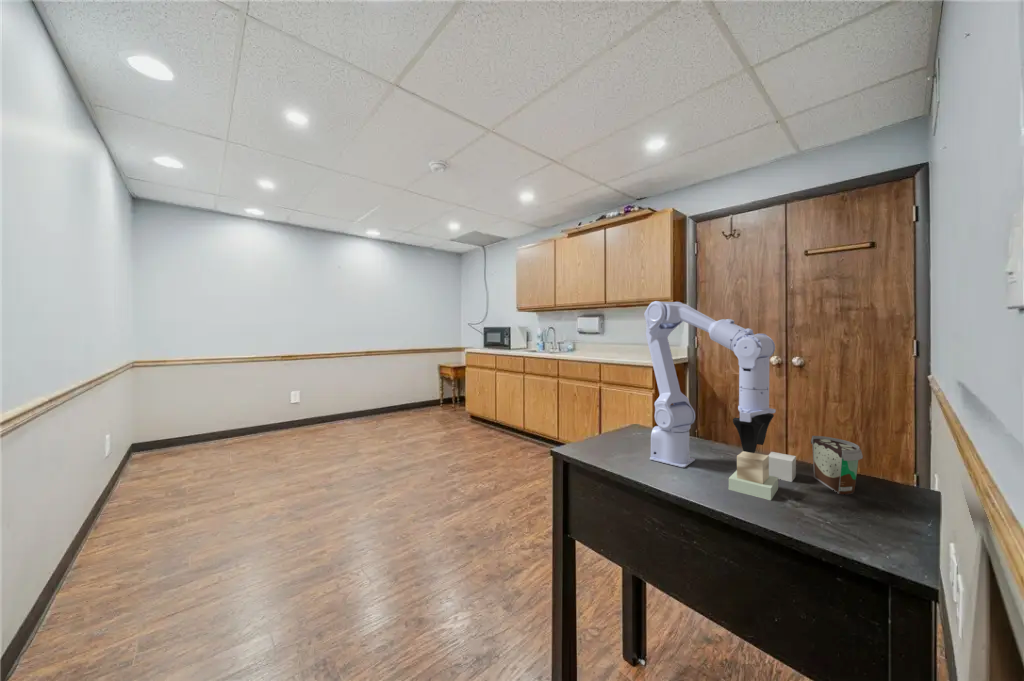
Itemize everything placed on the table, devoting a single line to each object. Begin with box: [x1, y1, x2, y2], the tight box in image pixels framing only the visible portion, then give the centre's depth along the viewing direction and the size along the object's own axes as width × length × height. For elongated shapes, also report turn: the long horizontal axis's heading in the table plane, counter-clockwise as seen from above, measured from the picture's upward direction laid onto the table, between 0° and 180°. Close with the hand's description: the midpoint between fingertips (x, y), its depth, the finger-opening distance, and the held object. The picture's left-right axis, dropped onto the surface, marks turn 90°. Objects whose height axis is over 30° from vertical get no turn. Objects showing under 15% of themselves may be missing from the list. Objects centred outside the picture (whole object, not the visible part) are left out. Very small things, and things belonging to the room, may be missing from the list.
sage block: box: [728, 469, 779, 501], centre depth 85 cm, size 8×8×3 cm
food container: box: [810, 435, 864, 495], centre depth 86 cm, size 12×6×10 cm, turn 168°
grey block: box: [767, 451, 797, 483], centre depth 93 cm, size 5×5×5 cm
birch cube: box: [736, 450, 769, 484], centre depth 85 cm, size 5×5×5 cm
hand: (753, 447), depth 85 cm, fingers open, 7 cm apart
